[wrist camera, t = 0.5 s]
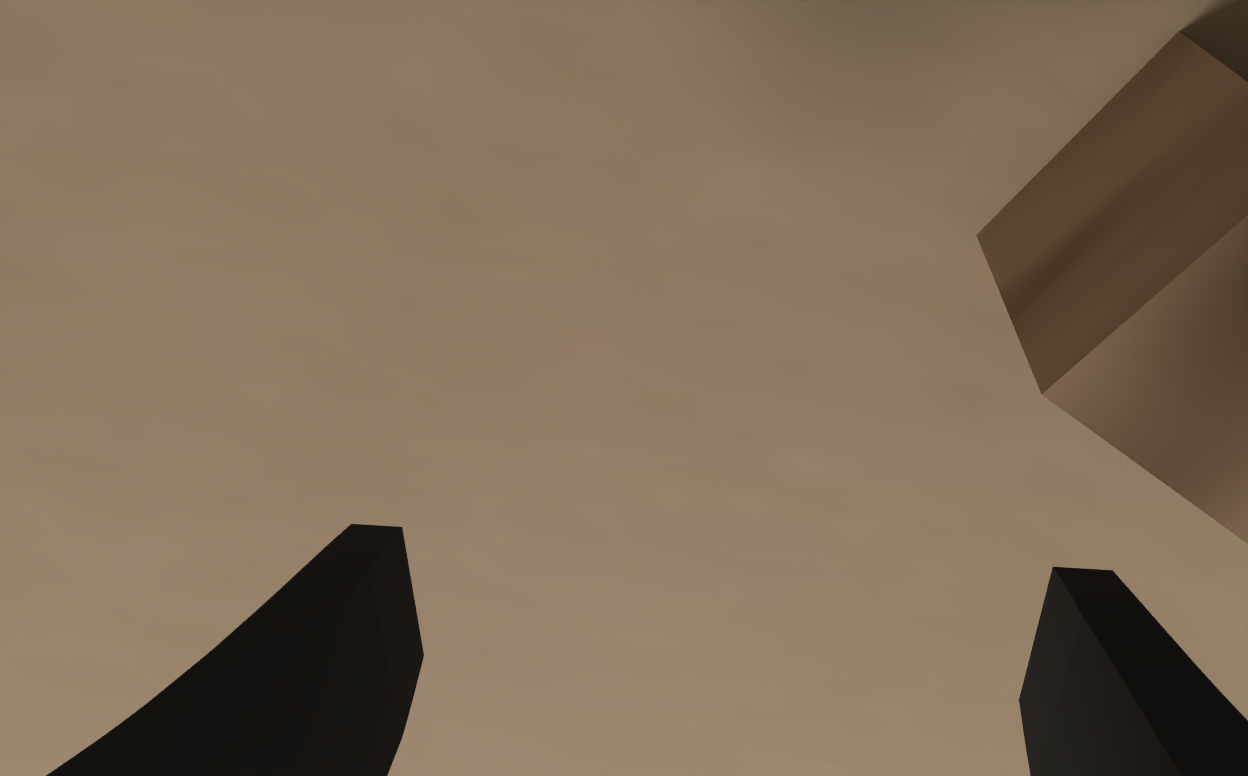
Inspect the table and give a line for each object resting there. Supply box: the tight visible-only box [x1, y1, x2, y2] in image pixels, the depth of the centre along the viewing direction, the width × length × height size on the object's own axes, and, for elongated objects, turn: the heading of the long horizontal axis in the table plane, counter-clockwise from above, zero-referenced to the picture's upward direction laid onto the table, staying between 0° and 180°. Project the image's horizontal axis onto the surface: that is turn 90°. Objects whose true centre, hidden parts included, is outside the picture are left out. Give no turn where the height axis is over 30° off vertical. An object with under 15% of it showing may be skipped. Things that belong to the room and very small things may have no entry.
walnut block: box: [977, 32, 1248, 543], centre depth 16 cm, size 4×4×6 cm
